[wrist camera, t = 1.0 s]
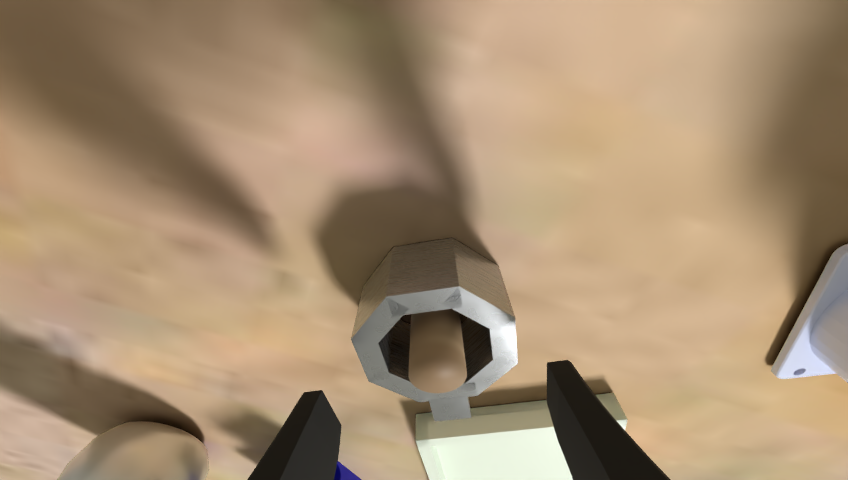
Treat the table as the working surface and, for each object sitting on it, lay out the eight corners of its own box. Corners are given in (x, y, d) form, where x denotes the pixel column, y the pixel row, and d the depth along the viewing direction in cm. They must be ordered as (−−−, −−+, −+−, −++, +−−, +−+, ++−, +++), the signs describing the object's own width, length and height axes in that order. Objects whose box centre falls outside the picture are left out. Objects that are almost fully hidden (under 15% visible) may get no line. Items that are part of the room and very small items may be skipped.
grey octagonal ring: (495, 231, 13) (512, 278, 11) (506, 355, 17) (520, 412, 14) (352, 253, 14) (336, 303, 11) (392, 369, 18) (387, 426, 15)
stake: (453, 276, 14) (463, 351, 11) (459, 310, 15) (470, 389, 12) (407, 283, 15) (403, 359, 11) (416, 316, 16) (414, 396, 12)
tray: (613, 392, 19) (627, 419, 17) (597, 486, 24) (606, 511, 23) (415, 414, 20) (415, 440, 18) (444, 499, 25) (445, 524, 24)
